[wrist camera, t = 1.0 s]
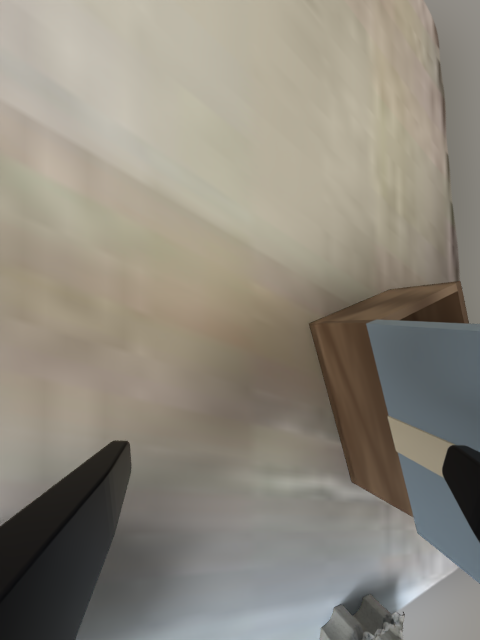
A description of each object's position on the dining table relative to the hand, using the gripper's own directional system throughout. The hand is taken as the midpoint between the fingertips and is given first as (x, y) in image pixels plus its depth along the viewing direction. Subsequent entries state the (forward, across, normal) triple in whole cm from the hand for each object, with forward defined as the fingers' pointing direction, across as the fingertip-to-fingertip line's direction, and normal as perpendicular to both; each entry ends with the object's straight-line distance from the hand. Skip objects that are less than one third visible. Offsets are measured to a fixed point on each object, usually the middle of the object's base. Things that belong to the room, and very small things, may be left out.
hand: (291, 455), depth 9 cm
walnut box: (+17, -11, +7) cm, 21 cm away
